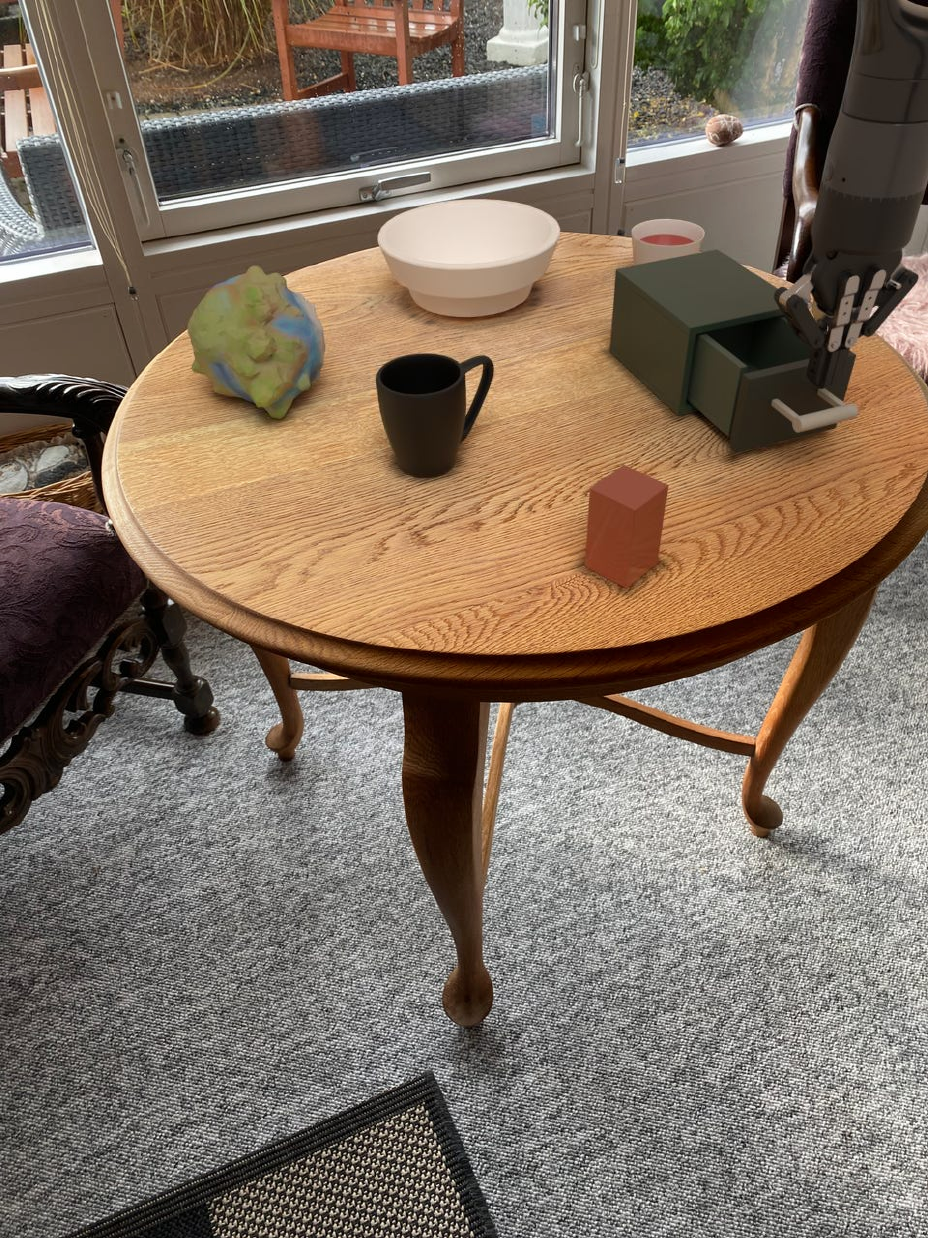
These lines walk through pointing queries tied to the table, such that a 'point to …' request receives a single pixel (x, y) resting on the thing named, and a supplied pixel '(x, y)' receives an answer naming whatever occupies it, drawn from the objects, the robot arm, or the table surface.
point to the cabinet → (680, 316)
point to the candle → (665, 240)
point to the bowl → (469, 254)
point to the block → (625, 525)
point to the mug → (429, 408)
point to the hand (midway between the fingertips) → (822, 383)
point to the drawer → (763, 385)
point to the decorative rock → (257, 340)
